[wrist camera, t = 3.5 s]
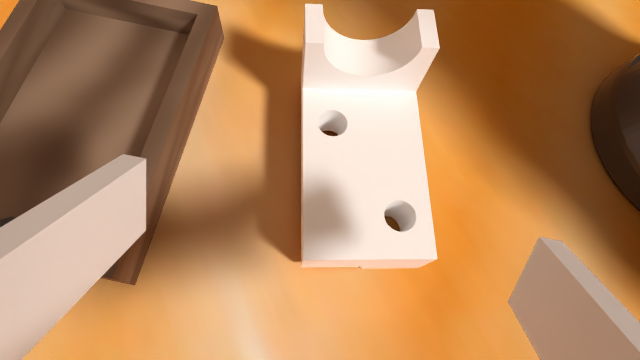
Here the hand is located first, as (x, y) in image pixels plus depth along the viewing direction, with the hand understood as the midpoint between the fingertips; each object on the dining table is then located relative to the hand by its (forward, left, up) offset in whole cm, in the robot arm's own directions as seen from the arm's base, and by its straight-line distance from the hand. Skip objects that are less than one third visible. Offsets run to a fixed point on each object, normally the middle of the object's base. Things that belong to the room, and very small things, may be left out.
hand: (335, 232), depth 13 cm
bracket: (-1, -7, -11) cm, 13 cm away
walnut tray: (+16, -6, -11) cm, 20 cm away
